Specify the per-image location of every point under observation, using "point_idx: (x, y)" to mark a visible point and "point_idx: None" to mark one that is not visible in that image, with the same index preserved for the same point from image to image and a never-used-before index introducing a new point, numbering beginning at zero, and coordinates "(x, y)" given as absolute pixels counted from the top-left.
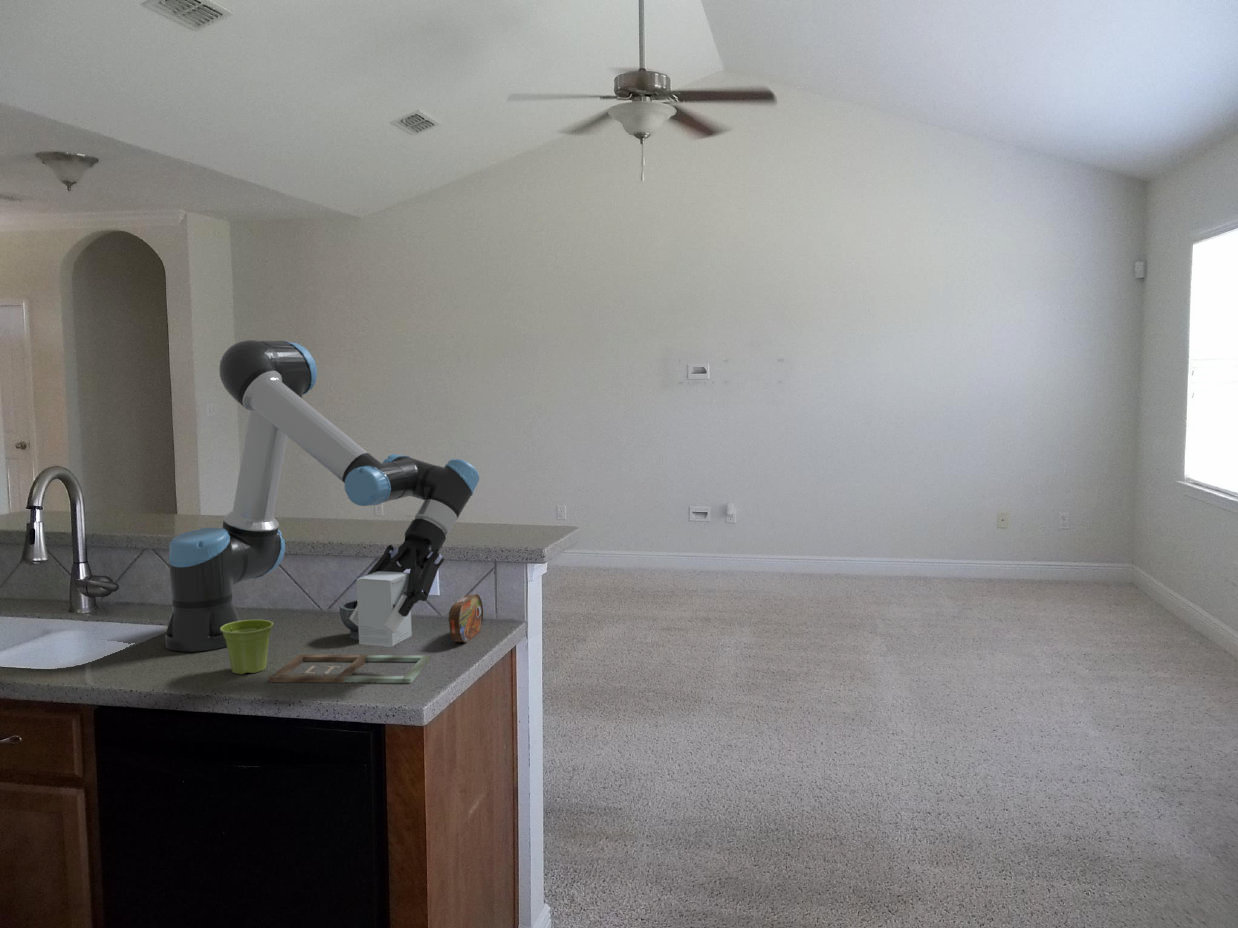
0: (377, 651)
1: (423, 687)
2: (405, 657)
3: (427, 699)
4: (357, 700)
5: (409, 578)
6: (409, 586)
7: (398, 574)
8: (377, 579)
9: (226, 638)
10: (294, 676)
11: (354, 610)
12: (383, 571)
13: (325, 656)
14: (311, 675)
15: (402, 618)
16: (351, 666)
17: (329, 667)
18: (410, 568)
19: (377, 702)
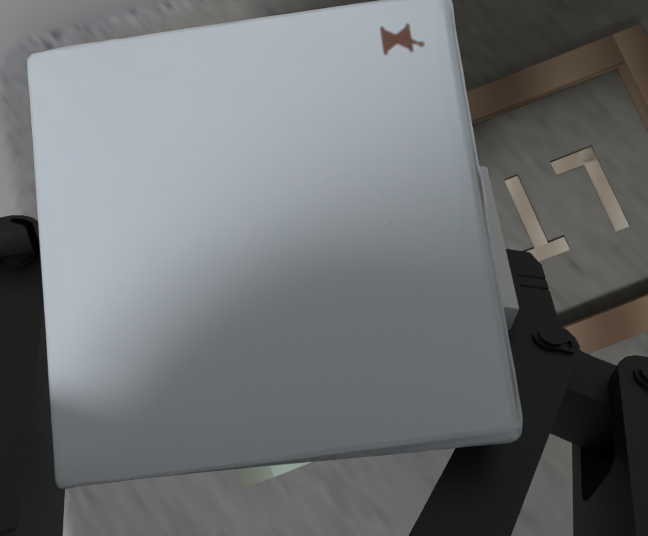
0: (528, 493)
1: None
2: None
3: (11, 114)
4: (215, 18)
5: (23, 388)
6: (15, 310)
7: (108, 330)
8: (184, 32)
9: None
10: (561, 69)
11: (491, 197)
12: (478, 502)
13: (645, 304)
14: (512, 102)
15: None
16: None
17: (553, 241)
18: (14, 524)
19: (144, 30)
